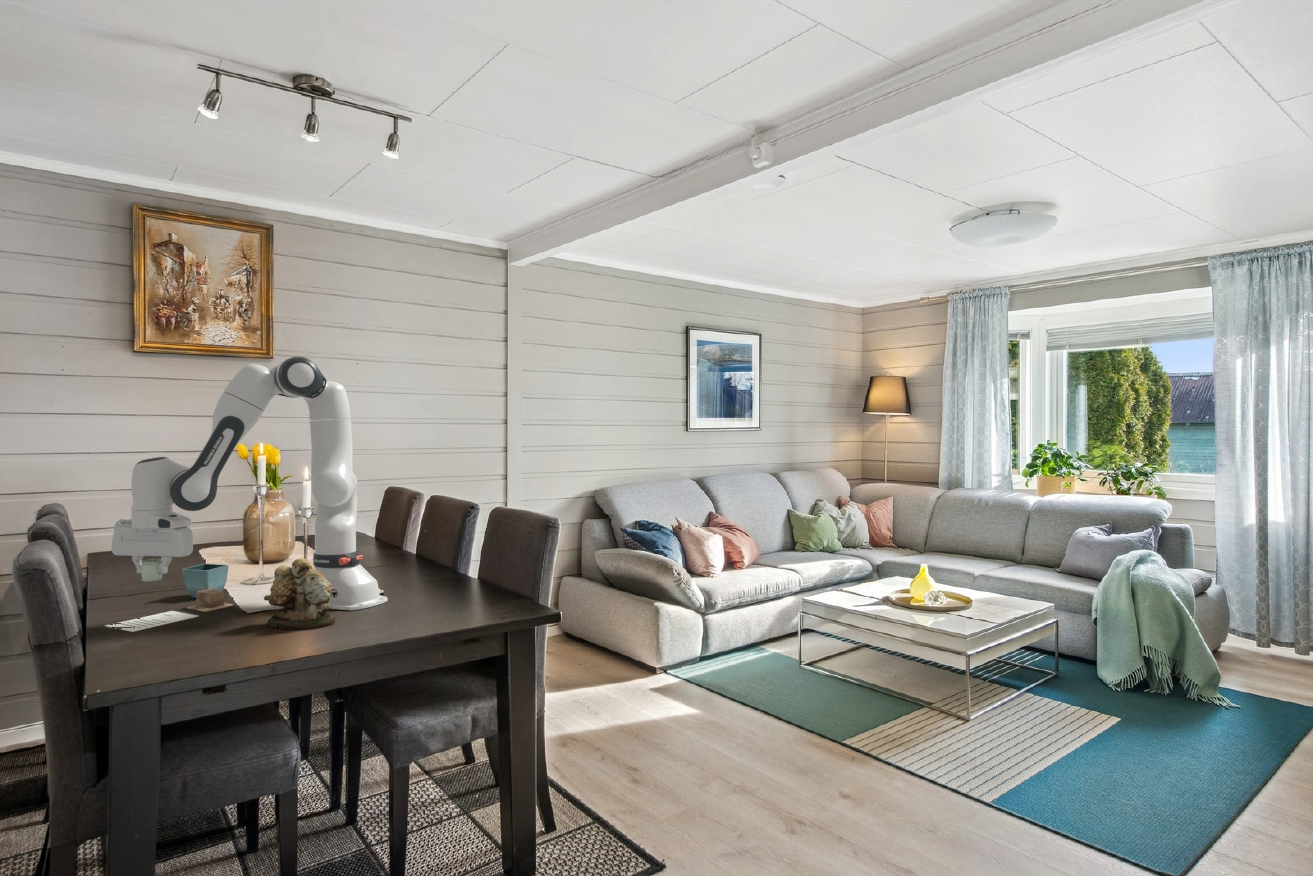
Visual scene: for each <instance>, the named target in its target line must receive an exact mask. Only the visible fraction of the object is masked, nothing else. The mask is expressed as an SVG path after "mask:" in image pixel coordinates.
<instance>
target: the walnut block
mask: <svg viewBox="0 0 1313 876" xmlns="http://www.w3.org/2000/svg"><path fill="white" fill-rule="evenodd" d="M195 600H196V602H195V603H196V604H195V605H196V606H199V607H205V608H214V607H219V606H223V605H224V603H225V590H222V591H220V590H214V589H207V590H203V591H198V592H196V598H195Z"/></svg>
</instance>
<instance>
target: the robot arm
mask: <svg viewBox="0 0 1313 876" xmlns="http://www.w3.org/2000/svg"><path fill="white" fill-rule="evenodd" d="M276 396H282V397H286V398H291V399H292V398H293V399H294V398H302V399H304V401H305V402H306V404H307V406H308V411H309V412H308V414H309V415H308V417H309V431H310V444H311V445H310V446H311V455H310V456H311V459H310V471H311V472H310V474H311V475H310V480H311V481H310V482H311V484H310V486H311V493H312V497H313V498H314V499H315V500H316V502H317V503H316V513H315V514H316V515H315V522H314V553H313V557H312V564H313V565H312V566H313V567H314V569H316V571H319V572H321V573H322V575H323V576H324V577H325V578H326V580H327V581H329V582H330V583H331V585H332V586H331V588H332V590H331V591H332V593H331V596H330V599H329V602H328V604H330V605H331V609H330V610H341V611H342V610H343V611H357V610H362V609H367V608H371V607H375V606H378V605H381V604H384V603H386V602H388V597H387V596H384V595H381V594H380V592H379V584H378V580H377V579H376V578H375V577H374V576H372V574H371V573H369V571H367V570H366V569H365V568H364V567H363V566H362V564H361V563H362V561H361V560H363V559H364V558H363V556H364V555H363V554H360V555H359V553H358V552H359V551H358V550H357V512H358V510H357V509H358V508H357V507H358V491H359V490H358V488H359V487H358V483H359V482H358V478H357V475H356V474H355V472H354V470H353V469H354V467H353V462H354V461H353V460H354V459H353V454H354V453H353V448H354V444H353V431H352V429H353V428H352V417H351V408H350V402H349V398H348V394H347V391H346V388H345V386H344V385H343V384H341V383H340V382H336V381H333V380H327V378H326V377H325V375H324V374H323V373H322V371H321V370H320V368H319V367H318V366H317V364H316V363H315V362H314V361H312V360H311V359H309V358H307V357H304V356H293V357H290V358H287V359H284V360H282V362H280V363H279V364H278V365H276V366H274V367H273V368H268V367H266V366H264V365H261V364H259V363H258V364H257V363H248V364H245V365H244V366H243V367H242V368H241V369H240V370H239V371H238V372H237V373H236V374H235V375H234V376H233V377H232V379H231V380H230V382H229V383H228V384H227V386H226V387H225V388H224V390H223V392H222V394H221V395H220V397H219V399H218V400H217V403H216V405H215V407H214V410H213V414H212V429H211V432H210V435H209V437H208V439H207V442H206V443H205V444H204V447H202V450H201V452H200V454H199V455H198V457H197V458H196V460H195V462H194V463H193V465H192V466H191V467H188V466H185V465H183V464H180V463H177V462H175V461H174V460H172V459H170V458H169V457H166V456H158V457H157V456H156V457H151V458H145V459H142V460H140V461H138V462H137V463H136V464H135V465H134V466H133V469H132V472H131V481H130V483H131V489H130V492H131V496H132V505H131V509H130V510H131V515H130V516H131V518H130V519H124V518H122V519H121V518H120V519H119V520H117V521H116V522H115V523H114V526H113V535H112V539H111V552H112V554H113V555H115V556H130V557H131V561H132V562H133V564H134V566H135V567H136V573H137V574H142V564H141V561H142V560H144V557H160V559H161V560H162V561H163V562H162V565H161V566H160V567H158V574H162V575H165V574H168V571H169V566H170V564H171V562H172V560H173V558H174V557H175V558H183V557H184V558H185V557H188V556H190V555H191V554H192V553H193V550H194V539H193V538H194V537H193V532H192V530H191V528H190V526H191V525H192V520H191V518H190V517H189V516H186V515H184V514H179V513H177V512H175V511H173V505H175V506H177V507H178V508H180V509H182V510H184V511H188V512H197V511H198V512H199V511H201V510H204V509H206V508H208V507H209V506H210V505H211V504H212V503H213V502H214V500H215V498H216V497H217V493H218V481H219V480H218V479H219V477H220V474H221V472H222V470H223V468H225V466H226V463H227V462H228V461H229V458H230V457H231V455H232V453H233V451H234V450H235V448H236V446H237V445H238V444H239V443H240V442H241V440H243V439H244V437H245V436H246V435H247V434H248V433H249V432H250V431H251V429H252V428H253V427H254V426H255V425H256V423H257V422H258V421H259V420H260V419H261V417H262V415H263V414H264V412H265V411H266V408H267V406H268V405H269V403H270V402H271V400H272V399H273V398H274V397H276ZM361 557H362V558H361Z"/></svg>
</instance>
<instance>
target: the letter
mask: <svg viewBox="0 0 1313 876" xmlns="http://www.w3.org/2000/svg"><path fill="white" fill-rule="evenodd" d="M197 617H199V614H197V615H196V614H192V613H187V612H180V611H175V610H170V611H166V612H165V611H164V612H159V613H156V614H152V615H148V616H143V617H142V616H141V617H139V618H140V619H137V618H133V619H128V620H124V621H120V622H118V623H121V624H116V625H115V624H114V623H112V624H113V625H110V624H106V625H104V627H108V628H112V627H132V628H122V629H120V630H123V631H126V632H127V631H128V632H137V631H142V630H146V629H152V628H154V627H158V626H164V625H168V624H171V623H172V624H173V623H176V622H180V621H185V620H188V619H189V620H190V619H193V618H197ZM133 627H135V628H133Z"/></svg>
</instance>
